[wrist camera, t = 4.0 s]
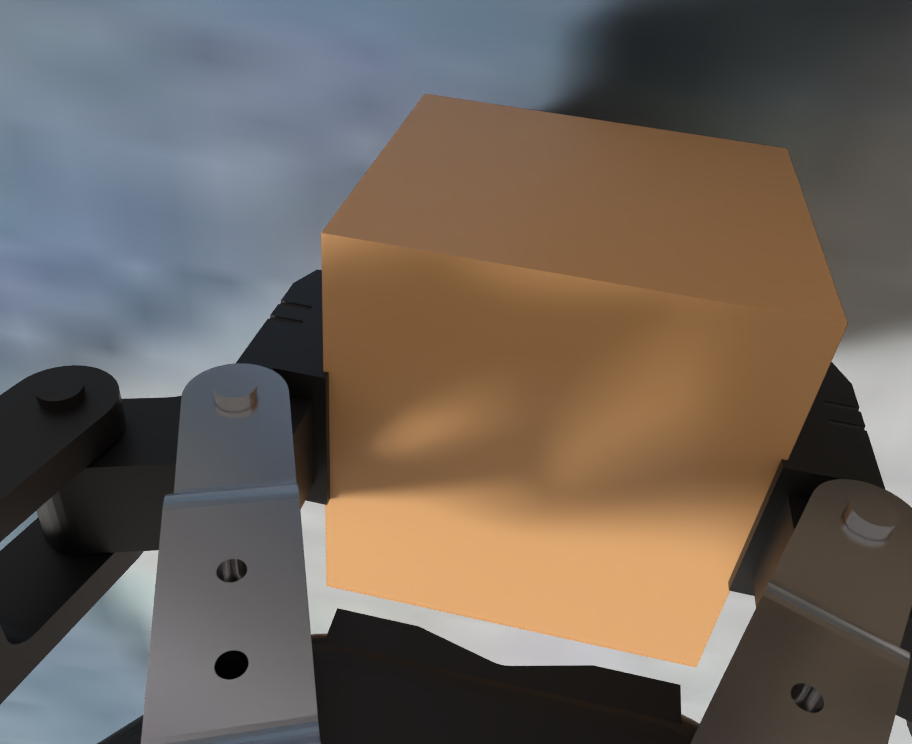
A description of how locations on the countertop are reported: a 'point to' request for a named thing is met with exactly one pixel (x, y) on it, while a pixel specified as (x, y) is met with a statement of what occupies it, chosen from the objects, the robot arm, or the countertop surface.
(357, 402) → the plug
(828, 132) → the countertop surface
